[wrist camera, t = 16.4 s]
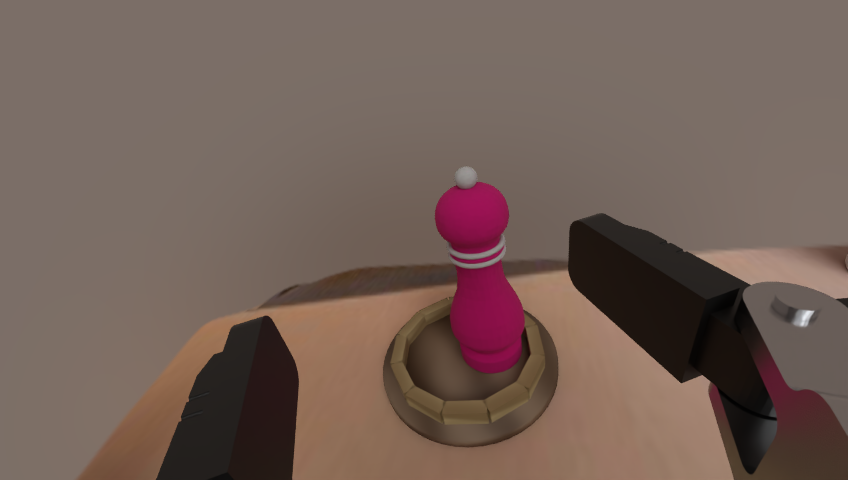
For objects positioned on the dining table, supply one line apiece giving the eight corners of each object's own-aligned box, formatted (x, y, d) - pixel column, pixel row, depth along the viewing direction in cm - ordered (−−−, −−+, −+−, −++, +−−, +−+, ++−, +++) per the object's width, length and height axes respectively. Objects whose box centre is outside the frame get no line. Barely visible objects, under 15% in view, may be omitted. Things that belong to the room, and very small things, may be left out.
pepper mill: (470, 319, 40) (441, 153, 31) (534, 331, 37) (523, 149, 27) (446, 367, 35) (401, 186, 25) (517, 387, 32) (496, 186, 22)
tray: (426, 491, 27) (420, 474, 26) (366, 344, 42) (360, 329, 40) (601, 382, 31) (603, 363, 30) (491, 285, 46) (489, 270, 45)
